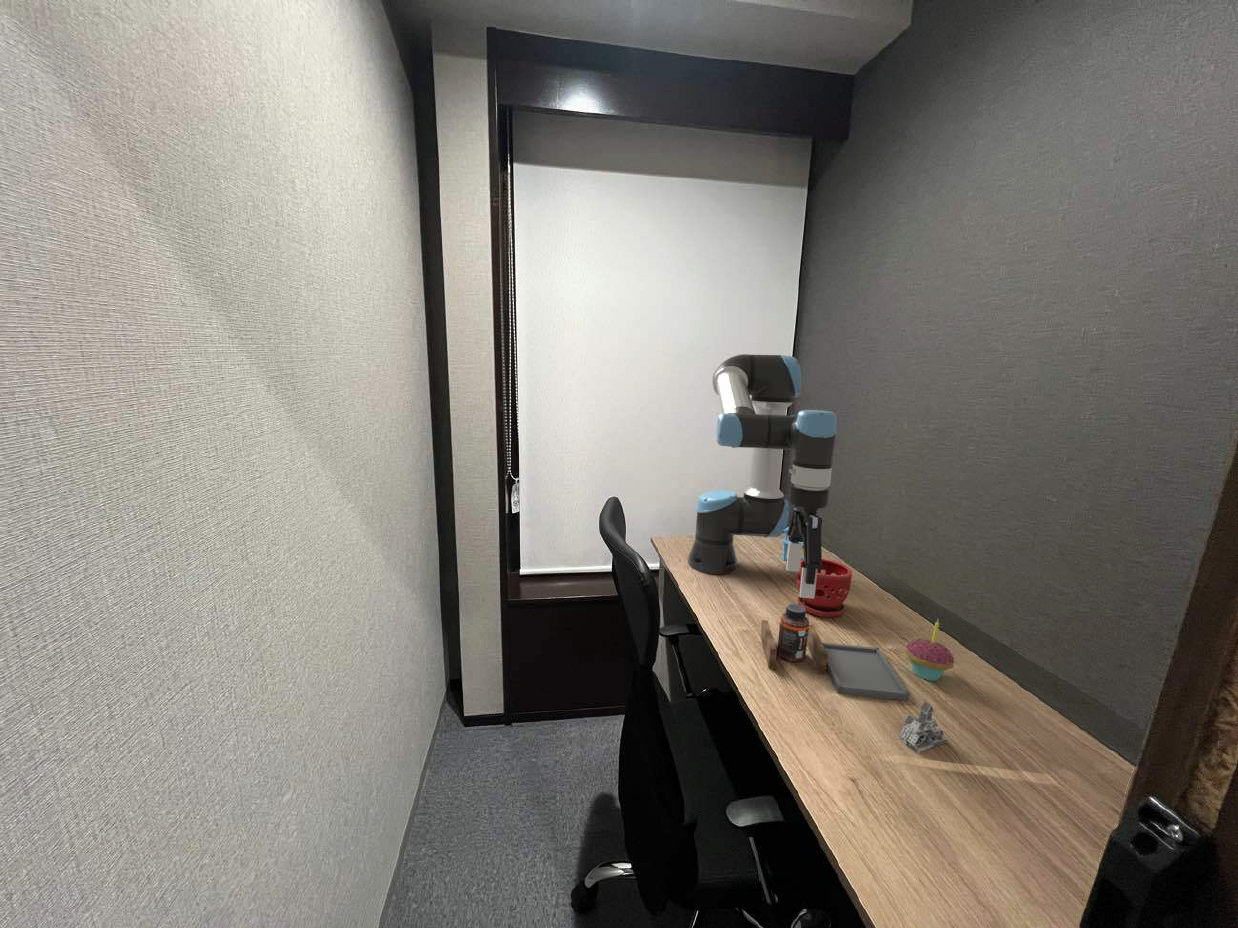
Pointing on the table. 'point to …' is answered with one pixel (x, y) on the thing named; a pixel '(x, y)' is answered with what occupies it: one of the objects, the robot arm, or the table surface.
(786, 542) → the chair
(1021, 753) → the table surface
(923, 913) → the table surface
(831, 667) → the tray
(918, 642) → the cupcake
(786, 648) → the supplement bottle
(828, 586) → the plant pot
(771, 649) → the cradle
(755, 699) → the table surface
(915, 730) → the house of cards
